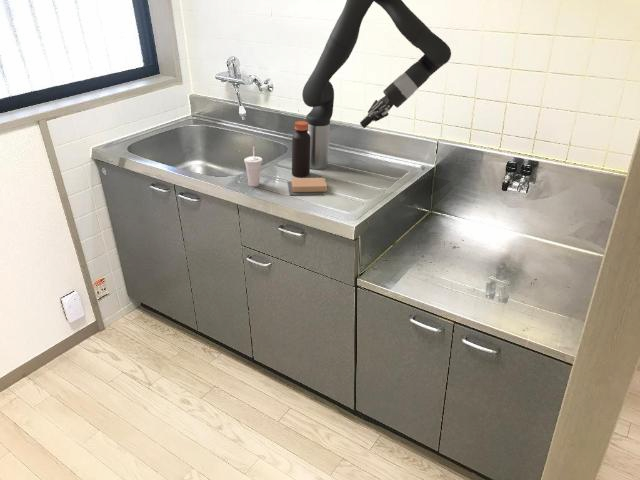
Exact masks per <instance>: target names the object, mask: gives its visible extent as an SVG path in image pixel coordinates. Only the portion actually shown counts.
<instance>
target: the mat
mask: <svg viewBox="0 0 640 480" xmlns="http://www.w3.org/2000/svg"><path fill="white" fill-rule="evenodd" d="M287 187H288V192H289V196H291V197H293V196H295V197H296V196H298V197H299V196H325V192H293V190H292V185H291V181H287Z"/></svg>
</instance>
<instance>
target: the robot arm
mask: <svg viewBox="0 0 640 480" xmlns="http://www.w3.org/2000/svg"><path fill="white" fill-rule="evenodd" d="M373 3H376V4H377V5H379V6H380V7H381V8H382V9H383V10H384V11H385V12H386V14H387V15H388V16H389V18H390V19H391V21H392V22H393V23H394V25H395V27H396V28H397V30H398V32H400V34H401V35H402V36H403V37H404V38H405V39H406V40H407V41H408V42H409V43H410V44H411V45H412V46H413V47H415V48H416V49H418V50H419V51H420V52H422V53H423V55H422V56H421V57H420V58H419V59H418V60H417V61H415V62H414V63H413V64H412V65H410V67H409V68H407V69H406V70H405V71H404V72H403V73H401V74H400V75H399V76H397V78H395V79H394V81H392V82H391V83H390V84H389V85H388V86H387V87H386V88H385V89H384V90H383V94H384V96H383V97H381V98H380V99H378V100H377V99H376V100H374V101H373V103H372V105H371V106H370V107H369V109H368V111H367V115H365V117H364V118H362V120H361V121H359V124H360V125H361V127H362V128H363V129H365V128H367V127H368V126H369V125H370V124H371V123H372V122H376V123H377V122H378V121H380V120H382V119H384V118H386V117H388V116H389V112H390V110H391V109H392V108H393V106H394V107H395V108H396V109H397V108H399V107H400V106H402V105H403V104H404V103H405V102H406V101H407V100H408V99H409V98H411V96H413V95H414V93H415V92H416V91H417V90H418V89H419V88H420V87H421V86H422V85H424V84H425V82H427V81H428V79H430V77H431V76H432V75H433V74H435V73H436V72H437V71H438V70H439V69H440V68H441V67H444V66H445V65H446V64H447V63H448V62H449V61H450V59H451V57H452V50H451V47H449V45H448V43H446V42H445V41H444V40H443V39H442V38H441V37H439V36H438V35H437V34H435V33H434V32H432V30H431V29H430V28H429V27H428V26H427V25H426V24H425V23H424V22H423V21H422V20H421V19H420V18H419V17H418V16H417V15H416V14H415V12H413V11H412V9H410V8H409V7H408V6H407V5H406V4H405V2H404V1H403V0H346V1H345V4H344V7H343V9H342V11H341V14H340V15H339V17H338V18H337V20H336V23H335V25H334V26H333V28H332V30H331V33H330V34H329V37H328V38H327V41H326V43H325V46H324V48H323V50H322V52H321V55H320V56H319V58H318V61H317V64H316V66H315V67H314V69H313V71H312V73H311V74H310V76H309V77H308V79H307V81H306V83H305V84H304V87H303V89H302V101H303V102H304V104H305V105H306V106H307V107H310V108H311V110H310V112H309V113H308V114H307V115H306V118H305V122H308V131H307V133H308V134H309V135H310V137H311V140H310V169H313V170H322V169H325V168H328V167H329V154H330V153H329V151H330V134H331V133H330V128H331V120H332V116H333V113H334V103H335V102H334V100H335V90H334V86H333V84H332V82H331V81H330V80H331V79H332V77H333V76H334V75H335V74H336V73H337V72H338V71H339V70H340V69H341V67H343V66H344V65H345V63H346V62H347V61H348V59H349V58H350V56H351V54H352V52H353V50H354V48H355V47H356V44H357V41H358V38H359V35H360V28H361V25H362V22H363V20H364V17H365V16H366V15H367V12H368V11H369V9H370V8H371V6H372V5H373ZM327 166H328V167H327Z"/></svg>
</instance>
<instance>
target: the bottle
mask: <svg viewBox="0 0 640 480" xmlns="http://www.w3.org/2000/svg"><path fill="white" fill-rule="evenodd" d="M294 131H295V132H294V133H293V134H292V136H291V139H292V140H291V148H292V149H291V175H292V176H294V177H295V178H307V177H308V176H310V171H311V168H310V140H311V137H310V135H309V134H308V133H307V131H308V122H306V121H302V120H299V121H295V122H294Z"/></svg>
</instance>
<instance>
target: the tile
mask: <svg viewBox="0 0 640 480" xmlns="http://www.w3.org/2000/svg"><path fill="white" fill-rule="evenodd" d="M290 182H291V185H292V190H293V192H324V193H325V192H327V191H328V184H327V182H326V180H325V178H324V177H294V178H291V179H290Z"/></svg>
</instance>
